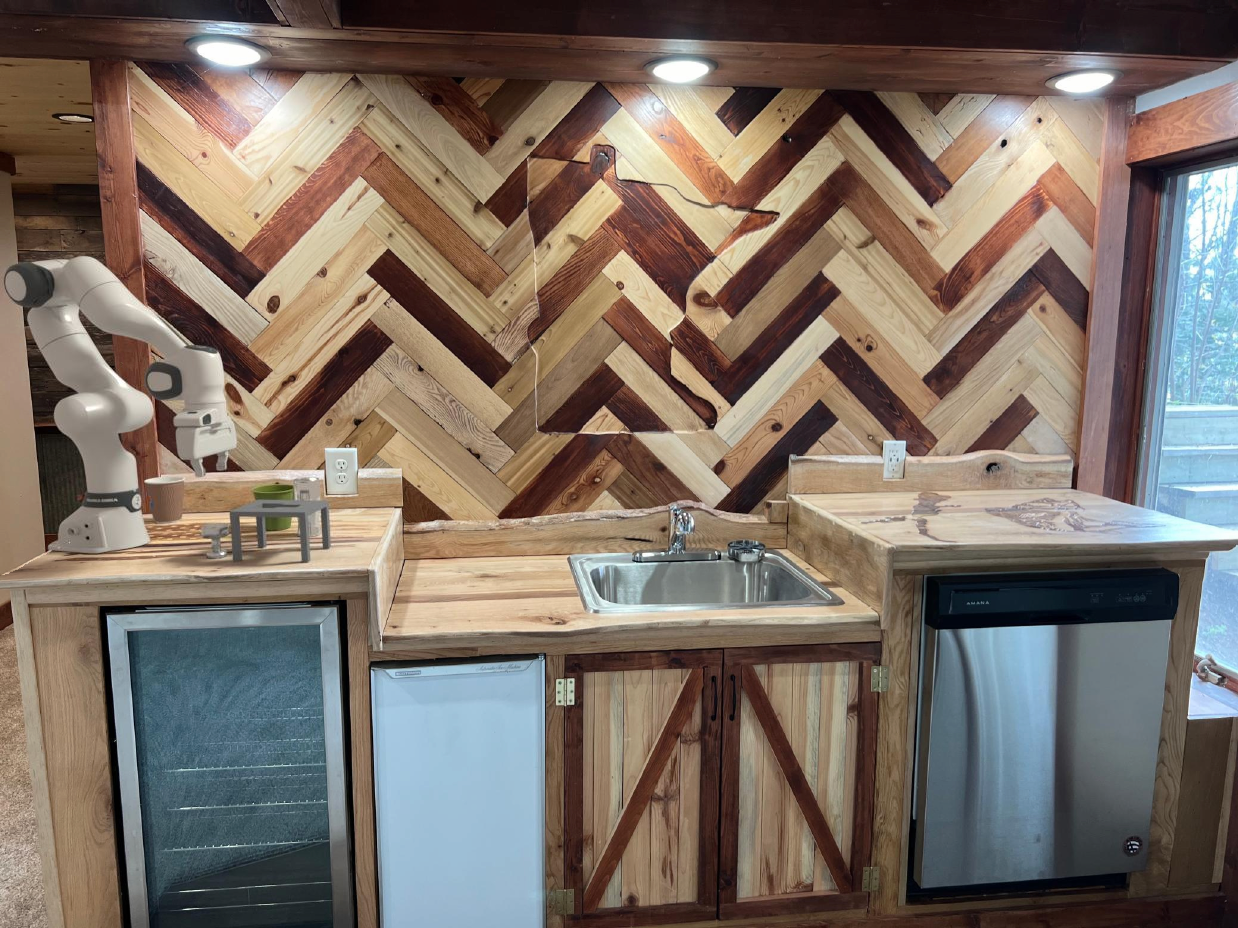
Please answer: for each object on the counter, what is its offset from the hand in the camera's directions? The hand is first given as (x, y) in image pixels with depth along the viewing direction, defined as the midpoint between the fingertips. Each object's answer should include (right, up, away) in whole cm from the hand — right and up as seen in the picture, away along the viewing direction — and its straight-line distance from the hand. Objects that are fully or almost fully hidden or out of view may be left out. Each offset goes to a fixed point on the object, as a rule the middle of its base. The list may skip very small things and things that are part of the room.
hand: (211, 473), depth 201 cm
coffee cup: (-32, -14, +41) cm, 54 cm away
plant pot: (+2, -16, +33) cm, 36 cm away
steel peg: (0, -20, +3) cm, 20 cm away
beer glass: (+14, -17, +25) cm, 33 cm away
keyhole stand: (+15, -20, +5) cm, 25 cm away
